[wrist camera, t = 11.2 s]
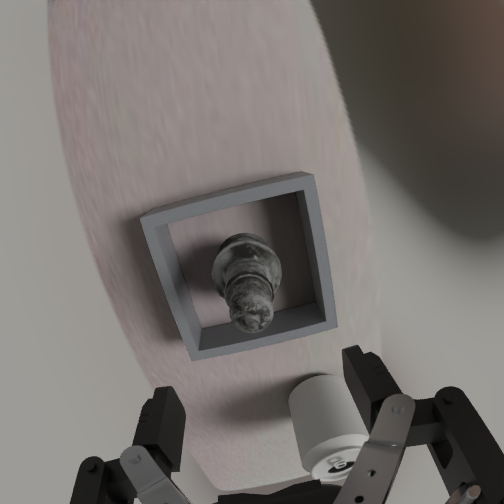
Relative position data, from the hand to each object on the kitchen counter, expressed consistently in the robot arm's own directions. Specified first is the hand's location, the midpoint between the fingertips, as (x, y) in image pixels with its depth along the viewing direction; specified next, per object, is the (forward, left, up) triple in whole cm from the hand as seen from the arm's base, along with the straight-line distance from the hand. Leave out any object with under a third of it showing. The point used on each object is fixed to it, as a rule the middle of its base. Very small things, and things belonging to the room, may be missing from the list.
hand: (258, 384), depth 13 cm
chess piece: (0, 0, -17) cm, 17 cm away
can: (+19, +4, -17) cm, 26 cm away
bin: (0, 0, -17) cm, 17 cm away
